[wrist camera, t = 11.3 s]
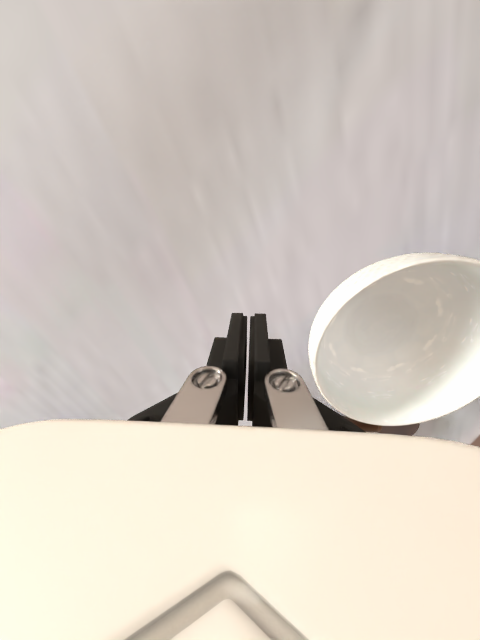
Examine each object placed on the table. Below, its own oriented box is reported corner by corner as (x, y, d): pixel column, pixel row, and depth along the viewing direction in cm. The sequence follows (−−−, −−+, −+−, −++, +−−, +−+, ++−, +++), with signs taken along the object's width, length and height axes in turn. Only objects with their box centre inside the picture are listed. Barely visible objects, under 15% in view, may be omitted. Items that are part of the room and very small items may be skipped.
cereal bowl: (303, 389, 30) (317, 436, 24) (292, 260, 24) (308, 277, 17) (444, 374, 28) (500, 420, 22) (475, 230, 22) (569, 236, 15)
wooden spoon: (268, 429, 33) (268, 440, 32) (270, 401, 31) (271, 411, 30) (407, 434, 33) (415, 446, 31) (419, 406, 31) (428, 417, 29)
